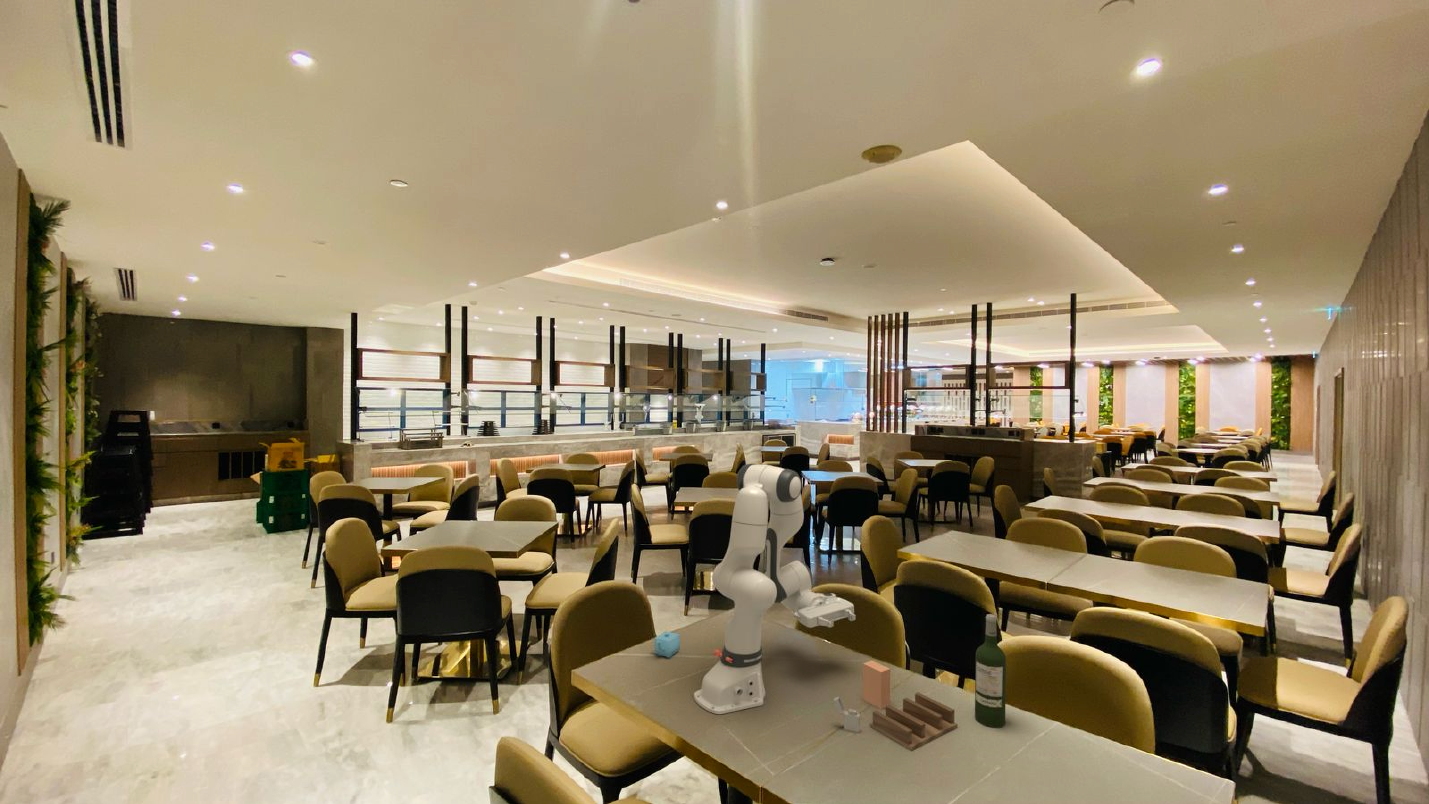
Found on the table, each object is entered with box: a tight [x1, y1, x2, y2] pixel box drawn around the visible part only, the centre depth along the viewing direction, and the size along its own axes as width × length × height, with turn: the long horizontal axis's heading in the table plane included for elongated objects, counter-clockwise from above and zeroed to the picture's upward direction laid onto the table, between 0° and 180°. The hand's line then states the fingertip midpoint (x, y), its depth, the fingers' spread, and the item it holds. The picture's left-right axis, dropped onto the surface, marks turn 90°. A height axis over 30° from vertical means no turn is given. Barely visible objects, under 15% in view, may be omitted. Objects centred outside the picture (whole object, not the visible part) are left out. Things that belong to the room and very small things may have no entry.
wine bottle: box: [974, 613, 1007, 729], centre depth 173 cm, size 8×8×30 cm
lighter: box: [833, 696, 861, 733], centre depth 169 cm, size 7×2×8 cm, turn 66°
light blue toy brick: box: [654, 630, 681, 659], centre depth 216 cm, size 12×6×8 cm, turn 153°
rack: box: [869, 692, 958, 752], centre depth 170 cm, size 20×14×4 cm
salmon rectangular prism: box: [862, 659, 891, 710], centre depth 183 cm, size 4×7×11 cm, turn 35°
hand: (843, 621), depth 194 cm, fingers open, 8 cm apart
